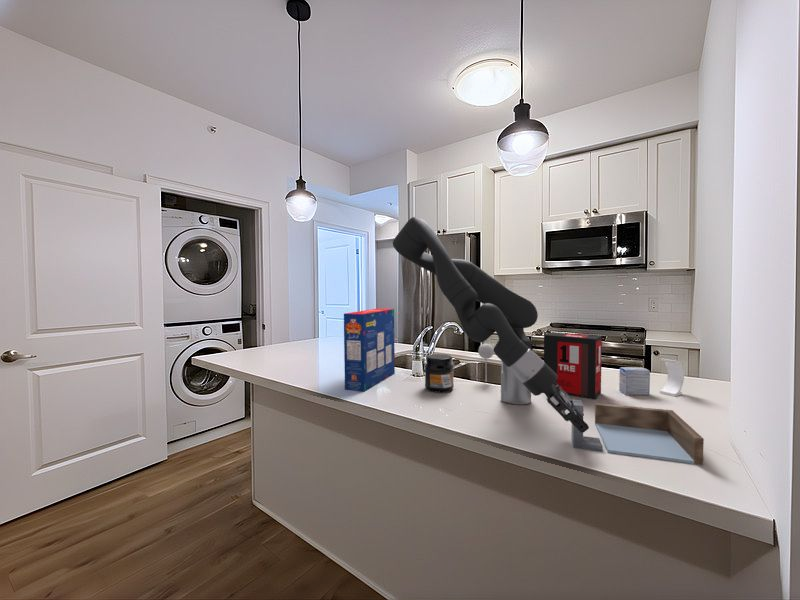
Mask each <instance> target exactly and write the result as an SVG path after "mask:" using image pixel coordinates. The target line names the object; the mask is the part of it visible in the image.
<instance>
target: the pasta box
mask: <svg viewBox="0 0 800 600" xmlns="http://www.w3.org/2000/svg"><path fill="white" fill-rule="evenodd" d="M343 354H344V355H343V356H344V357H343V359H344V362H343V363H344V390H345V391H352V392H363V393H365V392H367V391H369V390H371V389H372V388H373V387H375V386H378V384H381V383H382V382H383V381H386V380H387V379H389V378H390V377H392V376H395V373H396V371H395V367H396V364H395V363H396V362H395V359H396V358H395V309H394V308H374V309H373V308H372V309H366V310H359V311H353V312H346V313H343Z"/></svg>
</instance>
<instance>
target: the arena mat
mask: <svg viewBox="0 0 800 600" xmlns="http://www.w3.org/2000/svg"><path fill="white" fill-rule="evenodd" d="M595 426H596V429H597V432H598V435H599V436H600V438H601V440H602V441H601V442H602V443H603V444H604V445H603V446H604V447H605V449H606V452H607V453H609V454H610V453H611V454H617V455H624V456H631V457H632V456H633V457H640V458H649V459H656V460H661V461H662V460H663V461H670V462H677V463H678V462H679V463H685V464H692V465H695V464H694V460H693V459H692V458H691V457H690V456H689V455H688V454H687V453H686V451H685V450H684V449H683V448H682V447H681V446H680V445H679V444H678V443H677V442H676V440H675V439H674V438H673V437H672V436H671V435H670V434H669V433H668V432H667V431H662V430H653V429H644V428H635V427H625V426H616V425H607V424H598V423H596V425H595Z"/></svg>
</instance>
